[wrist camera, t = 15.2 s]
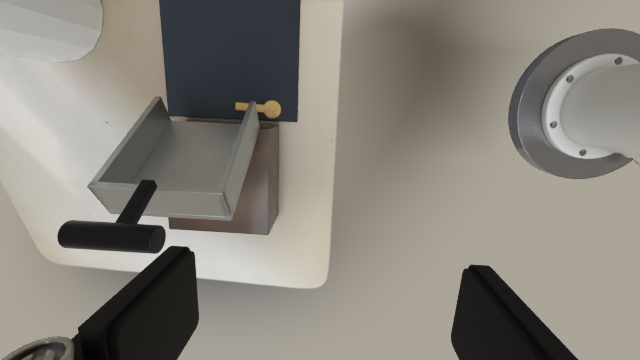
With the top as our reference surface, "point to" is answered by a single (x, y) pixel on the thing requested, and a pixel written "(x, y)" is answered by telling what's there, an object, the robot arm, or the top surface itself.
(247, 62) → the mat
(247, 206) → the stand
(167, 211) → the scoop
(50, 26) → the container
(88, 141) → the top surface
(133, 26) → the top surface
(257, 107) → the spoon
